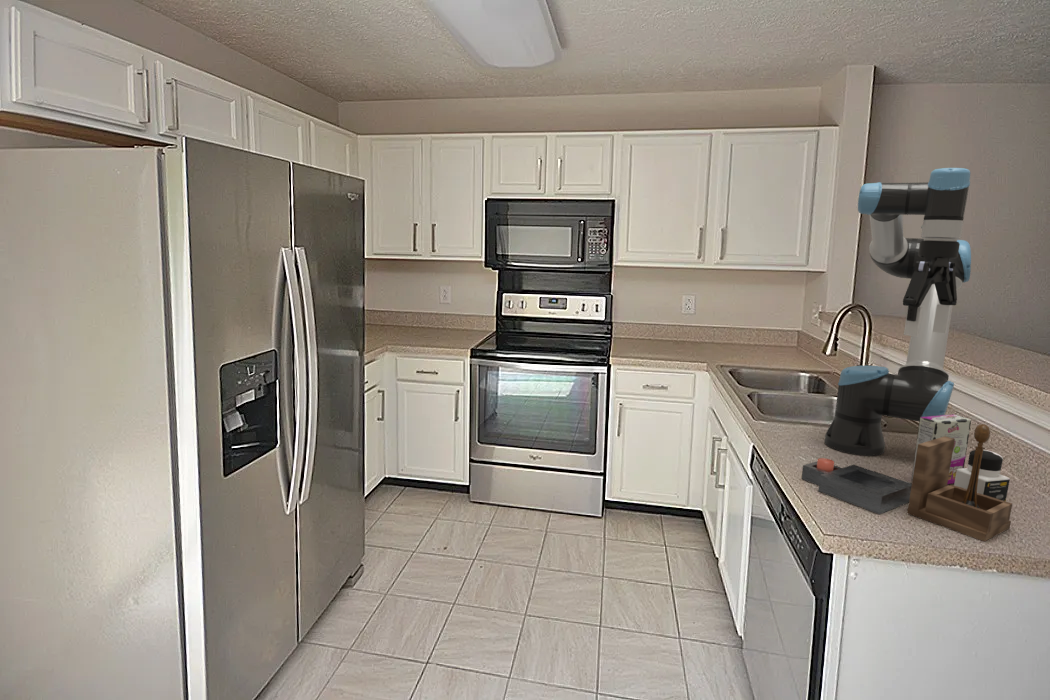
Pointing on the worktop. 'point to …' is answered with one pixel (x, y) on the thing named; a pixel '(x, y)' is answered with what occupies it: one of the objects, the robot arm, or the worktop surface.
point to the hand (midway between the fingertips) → (925, 334)
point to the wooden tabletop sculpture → (976, 464)
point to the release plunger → (825, 464)
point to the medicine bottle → (985, 476)
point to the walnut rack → (952, 496)
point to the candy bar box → (950, 428)
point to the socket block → (860, 486)
